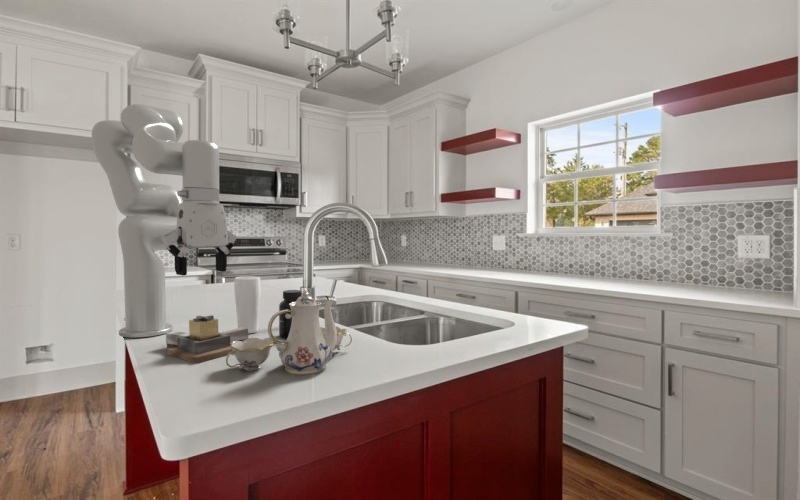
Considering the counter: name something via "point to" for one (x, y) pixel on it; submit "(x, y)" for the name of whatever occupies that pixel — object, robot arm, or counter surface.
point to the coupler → (203, 328)
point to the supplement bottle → (286, 323)
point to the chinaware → (295, 340)
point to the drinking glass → (247, 302)
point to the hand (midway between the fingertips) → (201, 272)
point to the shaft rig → (203, 345)
